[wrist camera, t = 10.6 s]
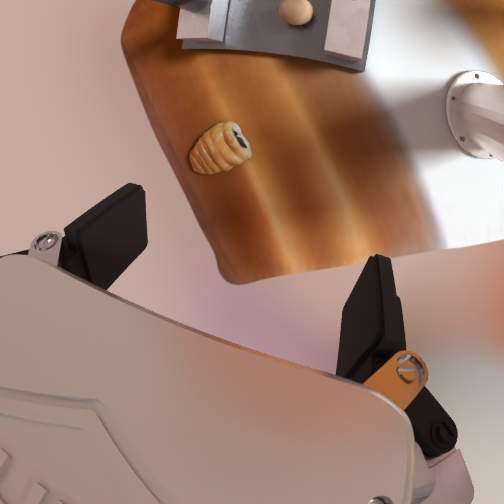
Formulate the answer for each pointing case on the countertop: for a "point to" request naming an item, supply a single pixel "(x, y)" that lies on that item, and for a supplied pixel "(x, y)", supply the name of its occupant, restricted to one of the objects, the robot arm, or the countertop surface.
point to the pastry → (220, 149)
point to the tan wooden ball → (296, 11)
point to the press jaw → (200, 19)
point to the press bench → (299, 31)
